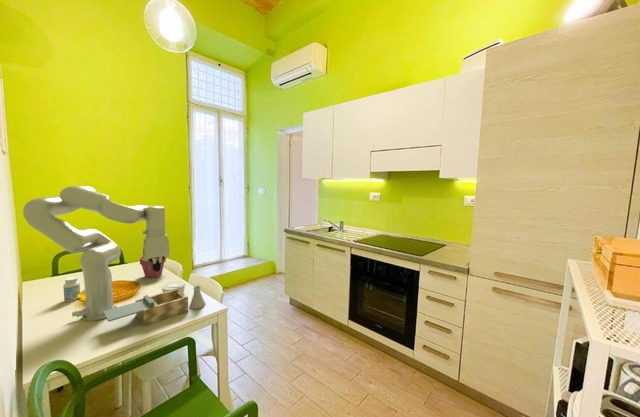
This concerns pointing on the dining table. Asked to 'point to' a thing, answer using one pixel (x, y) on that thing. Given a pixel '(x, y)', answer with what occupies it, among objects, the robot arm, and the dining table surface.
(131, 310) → the lid
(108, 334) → the dining table surface
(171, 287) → the ramekin
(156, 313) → the wooden box
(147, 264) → the plant pot
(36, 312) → the dining table surface
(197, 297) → the flask
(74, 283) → the pill bottle
